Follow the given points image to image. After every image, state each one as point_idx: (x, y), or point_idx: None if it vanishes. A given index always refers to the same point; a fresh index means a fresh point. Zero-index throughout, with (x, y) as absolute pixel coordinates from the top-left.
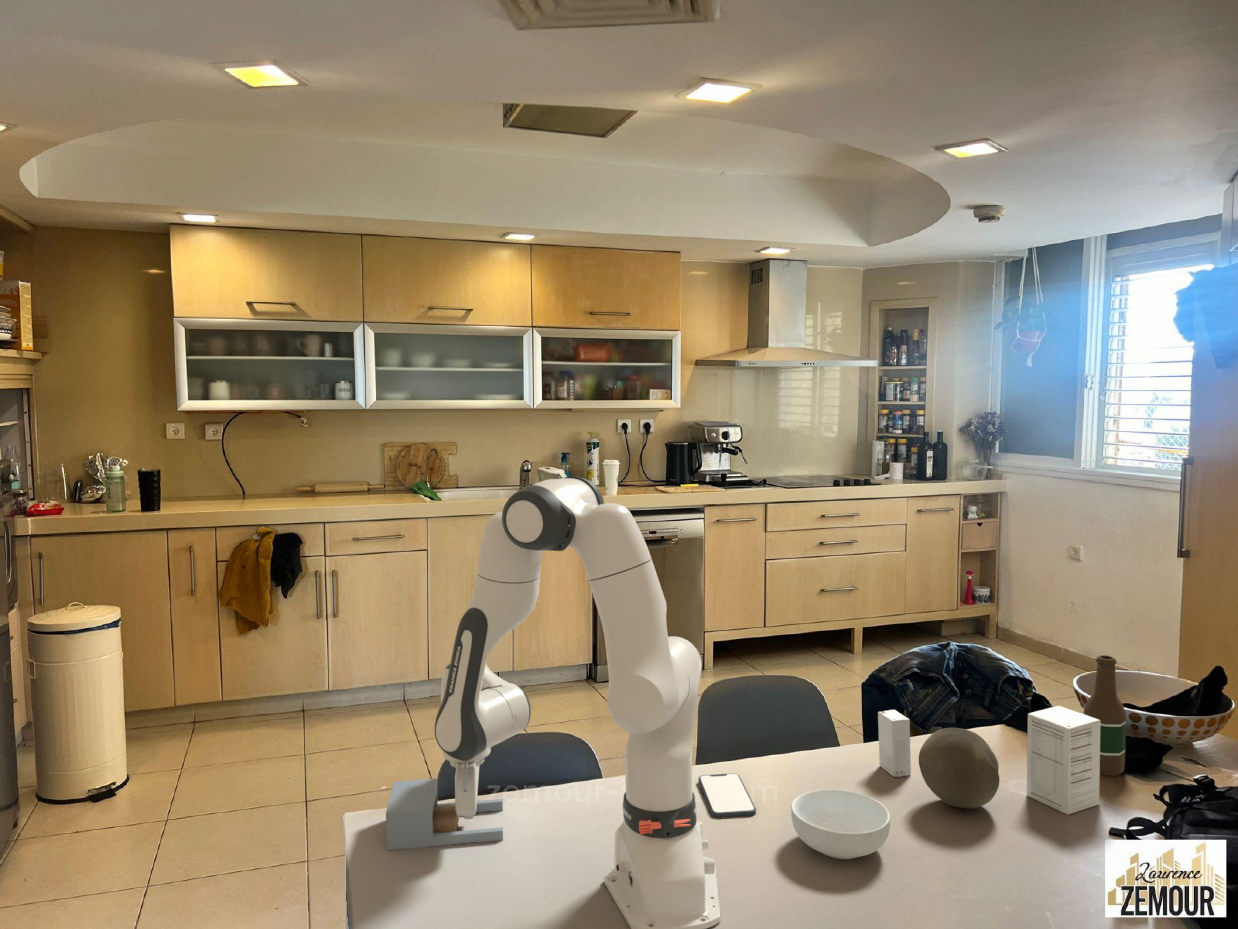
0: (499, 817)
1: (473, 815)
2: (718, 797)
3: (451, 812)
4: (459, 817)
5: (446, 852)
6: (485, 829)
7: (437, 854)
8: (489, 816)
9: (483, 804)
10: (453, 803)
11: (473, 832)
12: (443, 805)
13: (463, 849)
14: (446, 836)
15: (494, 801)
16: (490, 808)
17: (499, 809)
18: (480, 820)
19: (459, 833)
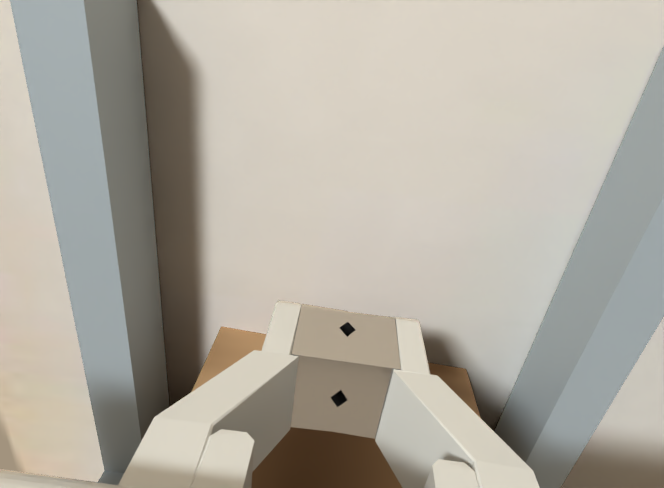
0: (266, 28)
1: (421, 331)
2: None
3: (296, 453)
4: (220, 332)
5: (619, 427)
6: (658, 236)
7: (611, 462)
8: (228, 121)
9: (112, 183)
10: (101, 398)
11: (644, 332)
12: (127, 448)
13: (649, 349)
14: (566, 472)
15: (74, 67)
16: (131, 106)
17: (129, 10)
18: (281, 201)
19: (588, 414)
